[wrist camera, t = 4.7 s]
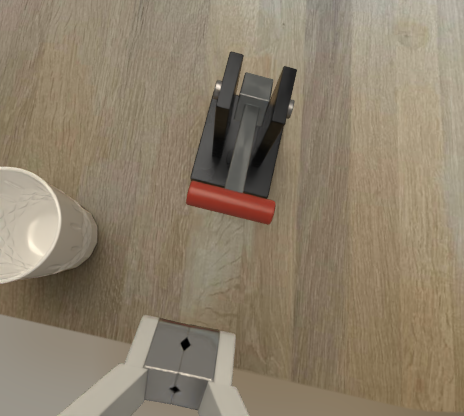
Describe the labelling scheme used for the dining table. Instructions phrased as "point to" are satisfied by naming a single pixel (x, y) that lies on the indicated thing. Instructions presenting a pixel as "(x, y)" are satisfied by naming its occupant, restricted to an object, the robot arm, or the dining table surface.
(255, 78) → the power lever
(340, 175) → the dining table surface
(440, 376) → the dining table surface
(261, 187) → the switch bracket
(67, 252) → the white cup
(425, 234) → the dining table surface
